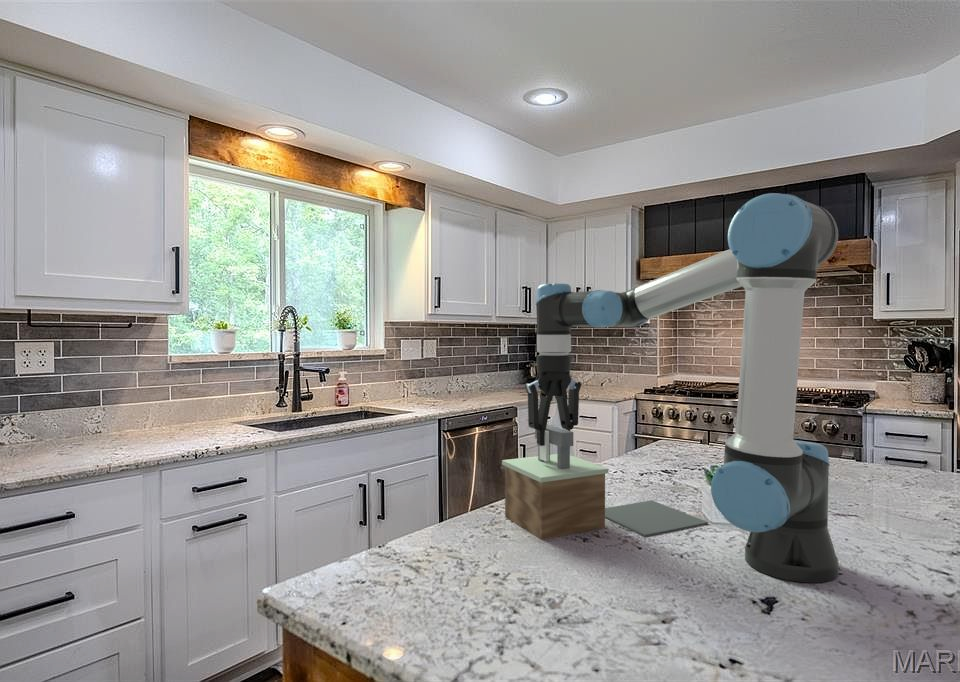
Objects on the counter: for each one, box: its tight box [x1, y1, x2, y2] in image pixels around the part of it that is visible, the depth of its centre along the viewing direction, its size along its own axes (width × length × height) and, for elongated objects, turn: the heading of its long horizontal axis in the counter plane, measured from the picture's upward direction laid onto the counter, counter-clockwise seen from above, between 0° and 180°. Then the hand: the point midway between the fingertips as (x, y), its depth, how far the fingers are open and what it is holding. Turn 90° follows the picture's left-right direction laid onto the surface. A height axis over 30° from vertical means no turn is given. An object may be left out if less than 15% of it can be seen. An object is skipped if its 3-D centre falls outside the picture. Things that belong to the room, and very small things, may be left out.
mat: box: [605, 500, 709, 538], centre depth 135 cm, size 18×18×1 cm
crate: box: [504, 466, 606, 540], centre depth 132 cm, size 16×16×12 cm
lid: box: [501, 424, 609, 482], centre depth 132 cm, size 17×17×9 cm
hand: (553, 458), depth 132 cm, fingers open, 4 cm apart
